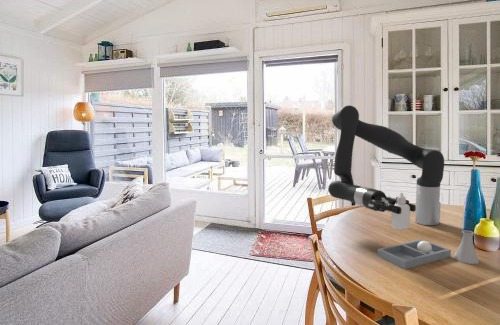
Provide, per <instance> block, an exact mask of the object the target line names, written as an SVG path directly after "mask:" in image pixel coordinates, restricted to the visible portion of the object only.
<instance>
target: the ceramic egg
mask: <svg viewBox="0 0 500 325" xmlns="http://www.w3.org/2000/svg"><path fill="white" fill-rule="evenodd" d="M427 241H428V240H426V241H420V242H419V243H418V245H417V248H418V250H419V251H421V252H423V253H426V254H428V253H430V252H431V250H432V246H431V244H430V243H429V242H430V241H429V242H427Z"/></svg>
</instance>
